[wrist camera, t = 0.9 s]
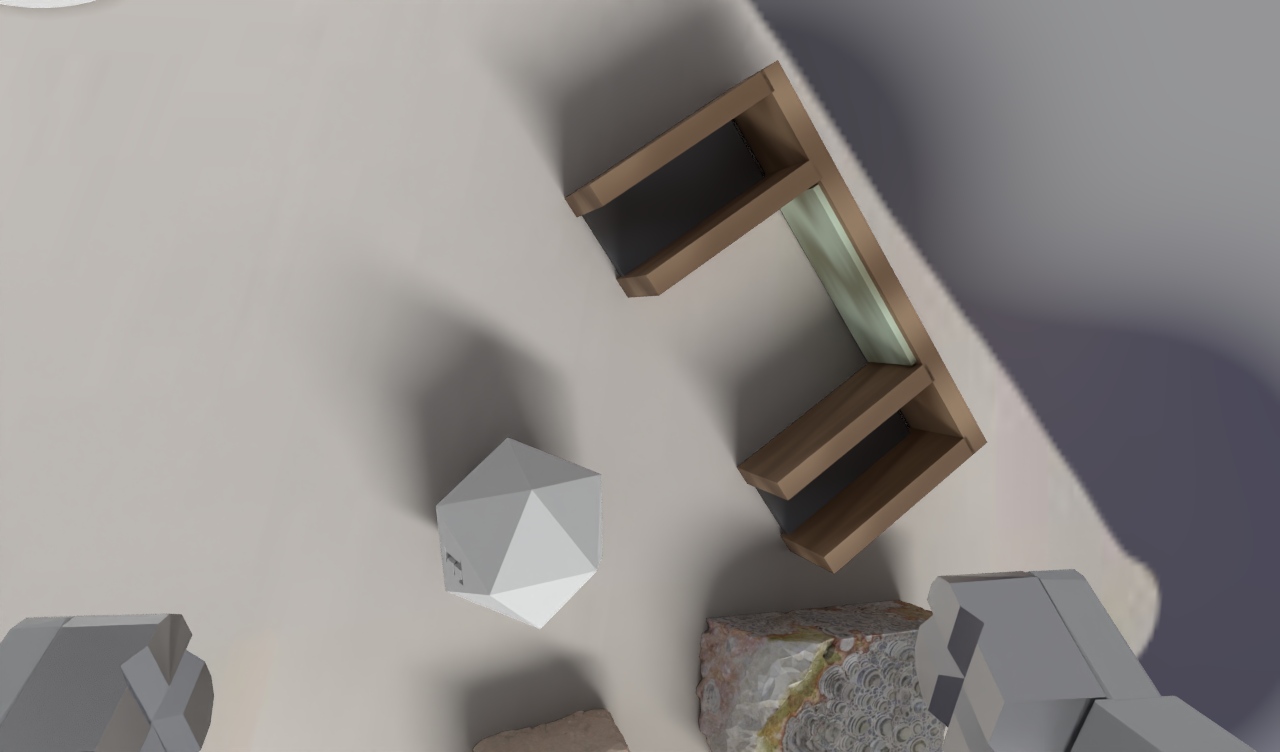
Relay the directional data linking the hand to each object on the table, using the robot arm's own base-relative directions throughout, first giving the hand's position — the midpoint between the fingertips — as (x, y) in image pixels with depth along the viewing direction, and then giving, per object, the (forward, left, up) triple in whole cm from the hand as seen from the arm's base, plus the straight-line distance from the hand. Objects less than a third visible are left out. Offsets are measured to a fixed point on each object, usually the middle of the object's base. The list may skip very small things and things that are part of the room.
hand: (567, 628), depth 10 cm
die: (+9, +1, -37) cm, 38 cm away
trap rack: (+9, +19, -37) cm, 42 cm away
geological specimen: (+30, +9, -37) cm, 49 cm away
